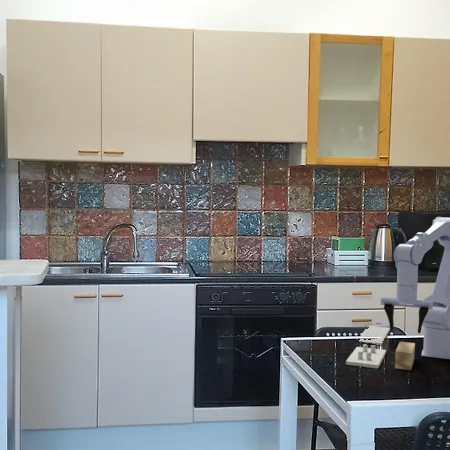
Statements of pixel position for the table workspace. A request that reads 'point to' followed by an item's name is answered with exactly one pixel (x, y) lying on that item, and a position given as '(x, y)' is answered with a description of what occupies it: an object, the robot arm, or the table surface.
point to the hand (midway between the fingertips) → (405, 331)
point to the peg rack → (366, 357)
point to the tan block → (405, 355)
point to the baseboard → (375, 334)
